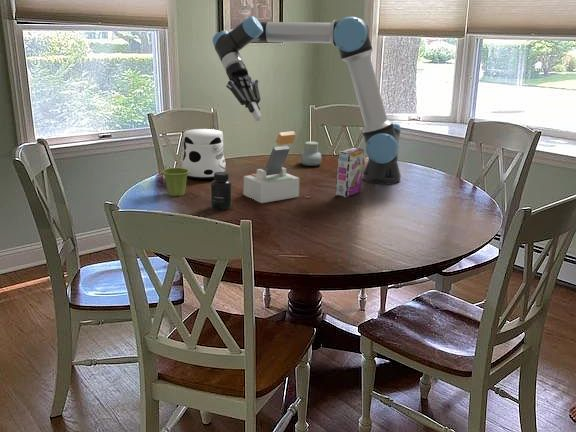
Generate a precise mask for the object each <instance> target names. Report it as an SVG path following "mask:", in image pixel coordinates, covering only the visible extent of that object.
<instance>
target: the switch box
mask: <svg viewBox="0 0 576 432" xmlns="http://www.w3.org/2000/svg"><path fill="white" fill-rule="evenodd" d="M243 195H244V196H246V197H247V198H250V199H251V198H252V199H251V200H253V199H254V201H256V202H258V203H259V204H264V203H265V204H266V203H269V202H270V203H271V202H275V201H283V200H288V199H294V198H299V196H300V177H298V176H295V175H293V174H290V173H287V168H286V167H282V169H281V171H280V174H273V175H266V171H265V169H262V168H257V169H256V172H255V173H251V174H249V175H244V176H243Z"/></svg>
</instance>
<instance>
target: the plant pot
mask: <svg viewBox="0 0 576 432" xmlns="http://www.w3.org/2000/svg"><path fill="white" fill-rule="evenodd" d="M188 173H189V170H188V169H185V168H182V167H171V168H170V167H169V168H165V169H162V174H163V177H164V180H165V186H166V190H167V195H168V196H170V197H171V196H172V197H177V196H179V197H182V196H184V195H186V187H187V179H188ZM181 195H182V196H181Z"/></svg>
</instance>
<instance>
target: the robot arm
mask: <svg viewBox="0 0 576 432" xmlns="http://www.w3.org/2000/svg"><path fill="white" fill-rule="evenodd" d="M212 43H213V44H212V45H213V47H214V50H215V52H216V54H217V56H218V58H219V60H220V61H221V64H222V66H223V69H224V71H225V73H226V75H227V77H228V82H227V84H226V85H225V86H226V88H227V89H228V90H229V91H230V92H232V94H233V96H234V97H235V98H236V100H237V101H238V102H239V104H240V105H241V106H244V107H245V108H246V109H248V111H249V113H250V114H252V116H253V118H254V121H255V122H259V121H260V120H261V119H262V116H263V115H262V113H261V108H260V106H259V103H260V101H261V95H260V90H259V86H258V84H259V80H258V79H252V77H251V76H250V75H249V71H248V69H247V67H246V64H245V62H244V60H243V57H242V56H241V54H240V52H239V51H241V50H242V49H243V48H246V46H247V45H249V44H250V43H295V44H296V43H302V44H303V43H305V44H331V45H332V46H333V47H337V48H338V52H339V54H340V59H341V61H343V62H345V63H346V64H347V67H348V71H349V74H350V75H349V76H350V78H351V81H352V85H353V89H354V91H355V93H354V94H355V96H356V99H357V100H356V101H357V103H358V106H359V109H360V114H361V118H362V120H363V125H364V128H363V129H362V134H363V135H362V136H363V139H364V142H365V152H366V154H367V156H368V159H367V163H366V166H365V167H364V170H363V171H362V180H364V181H366V182H368V183H372V184H378V183H383V184H382V185H387V184H386V183H393V184H396V183H395V182H398V181H400V182H401V177H402V175H401V171H400V166H399V162H398V161H399V159H398V157H399V148H400V138H401V137H400V135H401V125H400V124H399V123H393V121H392V120H389V119H388V117H387V113H386V110H385V105H384V103H383V99H382V96H381V92H380V88H379V83H378V81H377V77H376V73H375V70H374V66H373V62H372V59H371V54H372V52H373V46H372V42H371V39H370V29H369V26H368V23H367V22H366V21H365V20H364V19H362V18H361V17H359V16H358V17H357V16H355V15H354V16H353V15H351V16H346V17H344V18H341V19H333V20H332V21H331V22H315V21H312V22H309V21H308V22H305V21H304V22H303V21H302V22H301V21H300V22H297V21H296V22H292V21H291V22H288V21H287V22H286V21H285V22H284V21H280V22H279V21H275V22H273V21H259V20H258V19H257V17H255V16H253V15H250V16H248V17H247V18H245V19H244V20H243V21H242V22H240V23H239V24H238V25H237V26H236V27H234V28H233V29H232V30H231V31H228V30H221V31H220V32H216V33H215V34H214V35H213V37H212ZM398 183H399V182H398Z"/></svg>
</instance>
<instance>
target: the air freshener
mask: <svg viewBox="0 0 576 432" xmlns="http://www.w3.org/2000/svg"><path fill="white" fill-rule="evenodd" d="M300 162H301V163H300V164H302V165H303V166H305V167H306V166H307V167H316V166H319V165H320V164H322V153H321V152H319V143H318V142H317V141H306V142H305V143H304V150H303V151H302V152H301V153H300Z"/></svg>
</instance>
